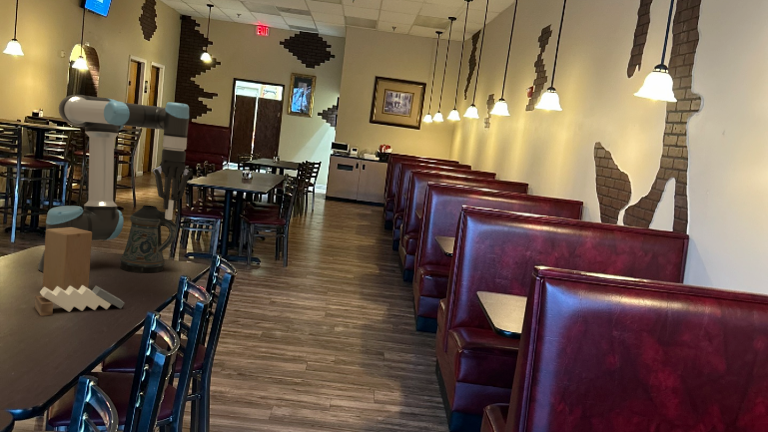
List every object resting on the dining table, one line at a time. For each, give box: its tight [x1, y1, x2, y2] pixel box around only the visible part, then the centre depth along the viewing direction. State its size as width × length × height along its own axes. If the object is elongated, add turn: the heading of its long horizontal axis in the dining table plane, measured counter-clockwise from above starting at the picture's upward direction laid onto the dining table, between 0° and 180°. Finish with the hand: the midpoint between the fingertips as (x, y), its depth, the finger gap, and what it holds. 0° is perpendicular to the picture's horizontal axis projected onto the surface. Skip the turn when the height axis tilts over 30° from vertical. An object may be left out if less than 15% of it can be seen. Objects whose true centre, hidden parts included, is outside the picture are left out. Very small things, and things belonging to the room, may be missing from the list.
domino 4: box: [78, 285, 112, 310], centre depth 198 cm, size 2×5×9 cm
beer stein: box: [120, 205, 177, 274], centre depth 255 cm, size 16×19×25 cm
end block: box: [34, 295, 54, 317], centre depth 189 cm, size 3×9×4 cm, turn 38°
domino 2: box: [53, 286, 88, 312], centre depth 193 cm, size 2×5×9 cm
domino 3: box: [66, 286, 100, 311], centre depth 196 cm, size 2×5×9 cm
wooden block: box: [42, 227, 93, 291], centre depth 213 cm, size 10×10×20 cm
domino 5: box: [91, 285, 126, 310], centre depth 200 cm, size 2×5×9 cm
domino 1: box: [39, 286, 75, 313], centre depth 191 cm, size 2×5×9 cm
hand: (168, 218), depth 219 cm, fingers closed
